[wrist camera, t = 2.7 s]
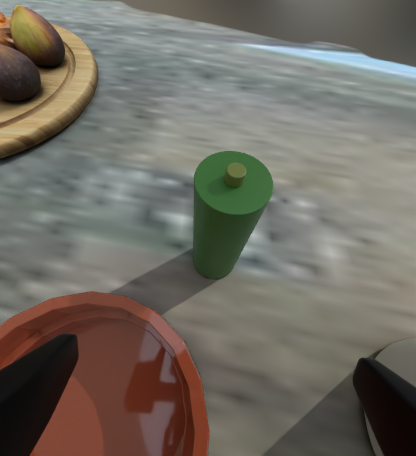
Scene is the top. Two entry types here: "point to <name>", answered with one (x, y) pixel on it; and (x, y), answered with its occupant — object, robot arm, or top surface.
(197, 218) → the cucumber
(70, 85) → the wooden plate
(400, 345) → the cylinder vase
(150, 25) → the top surface
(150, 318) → the pot
